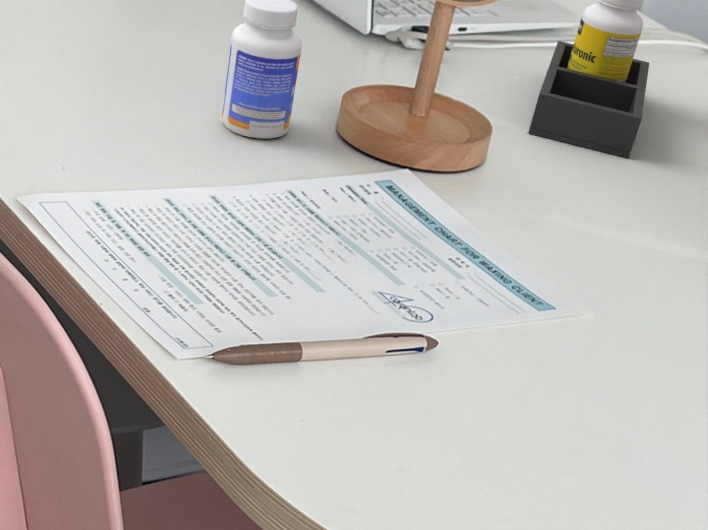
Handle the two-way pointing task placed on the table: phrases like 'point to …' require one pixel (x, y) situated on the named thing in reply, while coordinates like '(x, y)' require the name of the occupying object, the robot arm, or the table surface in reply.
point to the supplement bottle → (607, 39)
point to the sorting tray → (590, 106)
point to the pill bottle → (262, 70)
